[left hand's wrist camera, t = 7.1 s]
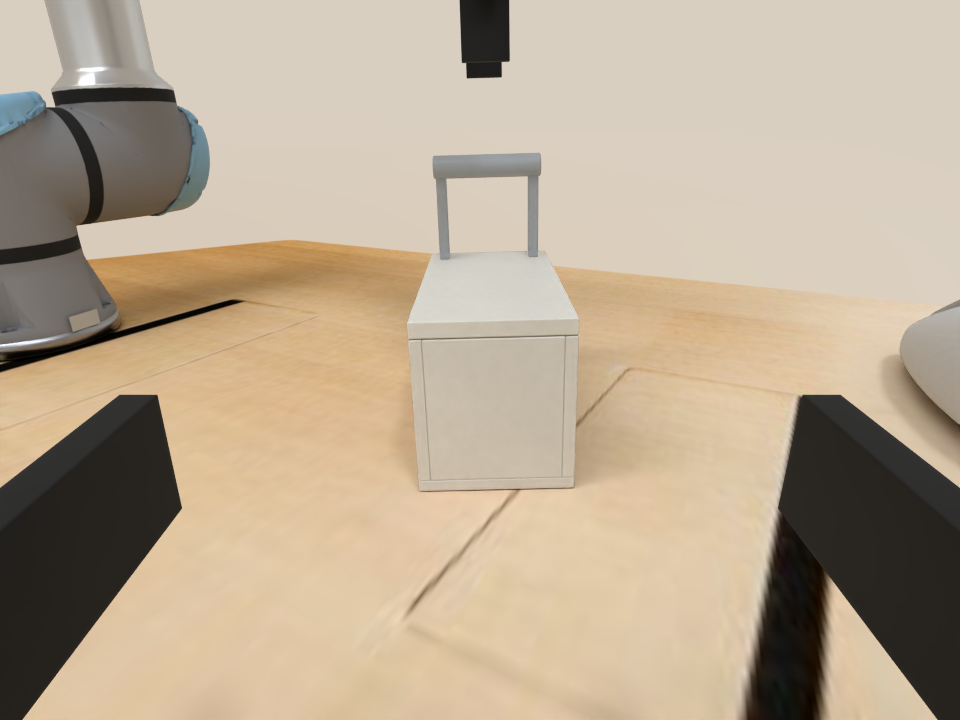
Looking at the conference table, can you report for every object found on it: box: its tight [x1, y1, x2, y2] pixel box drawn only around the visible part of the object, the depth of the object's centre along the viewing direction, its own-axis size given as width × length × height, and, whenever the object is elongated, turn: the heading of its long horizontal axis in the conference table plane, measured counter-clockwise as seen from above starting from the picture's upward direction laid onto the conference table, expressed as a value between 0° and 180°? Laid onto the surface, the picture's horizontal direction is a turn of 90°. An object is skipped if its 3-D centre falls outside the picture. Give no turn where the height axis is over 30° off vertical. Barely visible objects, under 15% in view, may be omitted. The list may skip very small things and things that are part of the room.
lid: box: [407, 153, 579, 339], centre depth 38 cm, size 18×9×8 cm, turn 0°
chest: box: [408, 335, 579, 491], centre depth 41 cm, size 17×9×9 cm, turn 0°
